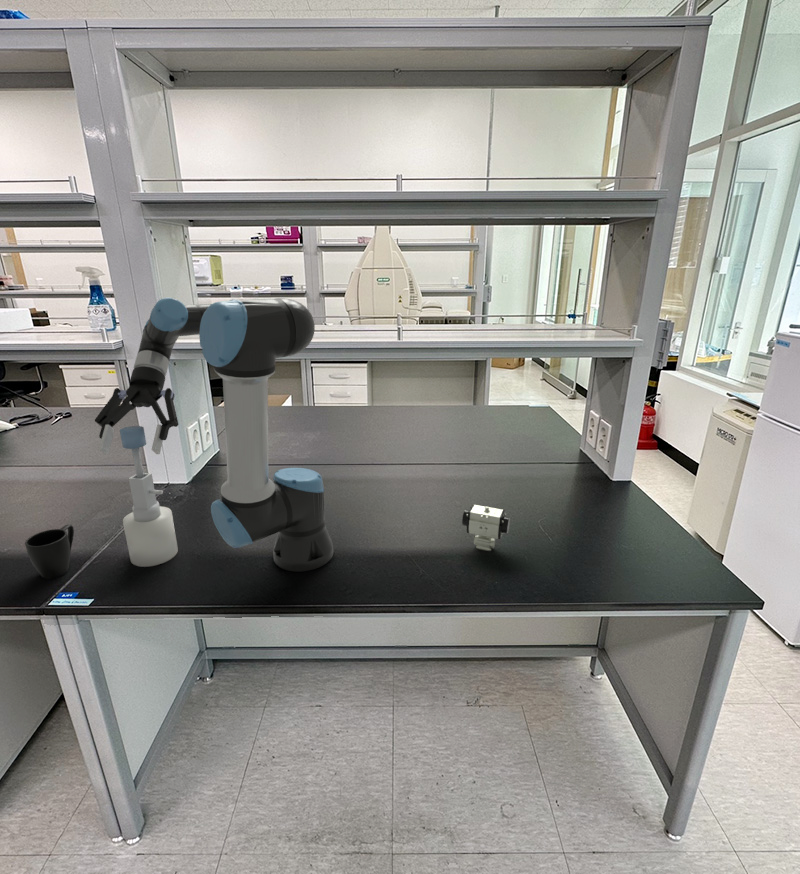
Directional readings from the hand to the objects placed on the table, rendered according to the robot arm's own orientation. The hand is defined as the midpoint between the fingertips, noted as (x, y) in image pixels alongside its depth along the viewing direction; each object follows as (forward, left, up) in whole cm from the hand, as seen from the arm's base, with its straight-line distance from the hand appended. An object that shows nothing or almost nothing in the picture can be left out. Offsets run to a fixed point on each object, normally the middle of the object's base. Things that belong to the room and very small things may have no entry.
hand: (129, 452), depth 113 cm
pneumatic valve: (-84, -20, -29) cm, 91 cm away
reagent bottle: (0, -3, -29) cm, 29 cm away
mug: (+19, +6, -29) cm, 36 cm away
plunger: (0, -3, -8) cm, 9 cm away
